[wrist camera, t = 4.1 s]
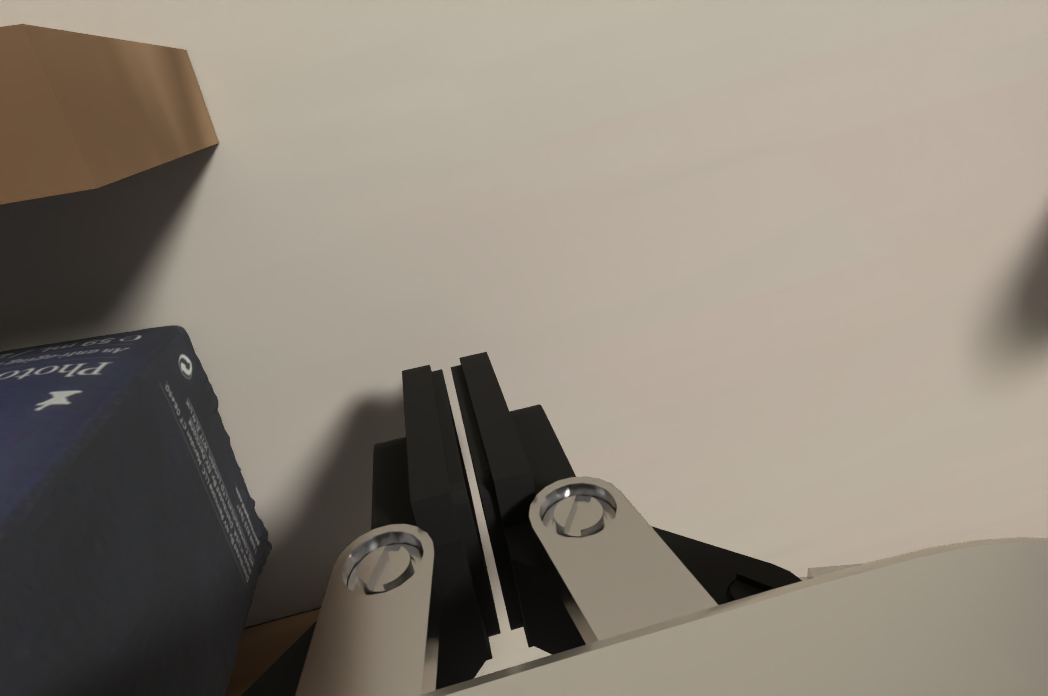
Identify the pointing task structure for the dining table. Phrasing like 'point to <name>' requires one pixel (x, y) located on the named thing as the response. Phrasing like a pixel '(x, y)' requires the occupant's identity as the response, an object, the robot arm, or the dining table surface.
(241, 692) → the channel
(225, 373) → the dining table surface
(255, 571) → the small box
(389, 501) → the robot arm
